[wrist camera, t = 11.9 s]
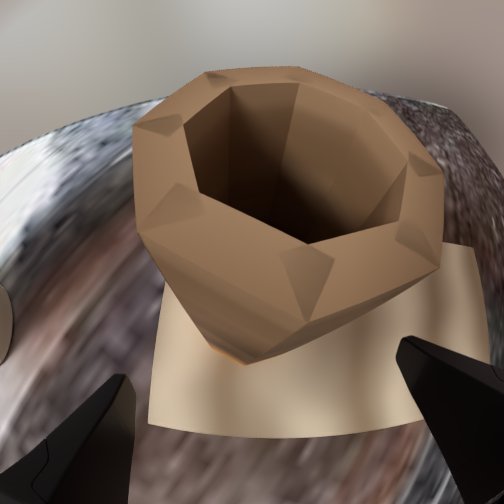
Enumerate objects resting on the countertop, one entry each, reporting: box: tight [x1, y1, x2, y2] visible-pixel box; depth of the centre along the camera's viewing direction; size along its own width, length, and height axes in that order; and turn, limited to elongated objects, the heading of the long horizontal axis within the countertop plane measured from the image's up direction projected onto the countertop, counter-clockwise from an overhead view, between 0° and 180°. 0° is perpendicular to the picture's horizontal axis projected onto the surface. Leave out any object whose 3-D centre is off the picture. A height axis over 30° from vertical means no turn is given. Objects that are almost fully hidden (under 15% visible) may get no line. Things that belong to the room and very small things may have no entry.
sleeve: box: [132, 66, 444, 366], centre depth 10 cm, size 5×5×13 cm
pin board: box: [148, 242, 490, 438], centre depth 15 cm, size 26×14×5 cm, turn 86°
